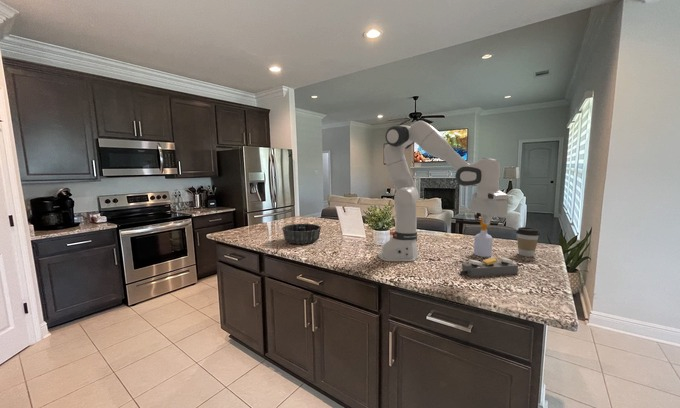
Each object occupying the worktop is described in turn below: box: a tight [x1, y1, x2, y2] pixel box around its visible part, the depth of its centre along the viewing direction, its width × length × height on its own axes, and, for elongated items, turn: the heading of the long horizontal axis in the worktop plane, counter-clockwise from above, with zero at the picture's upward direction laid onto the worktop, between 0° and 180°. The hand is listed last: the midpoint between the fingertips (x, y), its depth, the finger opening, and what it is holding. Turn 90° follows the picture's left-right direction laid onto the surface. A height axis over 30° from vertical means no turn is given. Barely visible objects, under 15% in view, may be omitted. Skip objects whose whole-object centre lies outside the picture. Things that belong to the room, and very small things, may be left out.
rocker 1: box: [467, 259, 483, 265], centre depth 132 cm, size 5×3×1 cm, turn 101°
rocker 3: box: [497, 256, 514, 263], centre depth 134 cm, size 5×3×1 cm, turn 101°
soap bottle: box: [473, 216, 493, 258], centre depth 160 cm, size 9×9×25 cm
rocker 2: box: [482, 257, 498, 265], centre depth 133 cm, size 5×3×1 cm, turn 101°
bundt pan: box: [281, 223, 322, 245], centre depth 194 cm, size 26×26×10 cm
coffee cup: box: [515, 226, 541, 258], centre depth 161 cm, size 11×11×15 cm
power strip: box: [459, 260, 519, 278], centre depth 133 cm, size 27×7×5 cm, turn 101°
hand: (486, 224), depth 130 cm, fingers closed
